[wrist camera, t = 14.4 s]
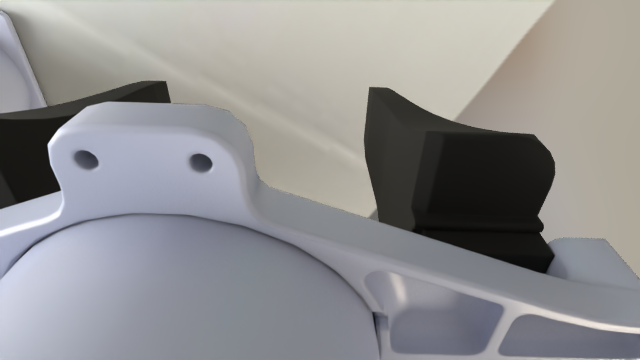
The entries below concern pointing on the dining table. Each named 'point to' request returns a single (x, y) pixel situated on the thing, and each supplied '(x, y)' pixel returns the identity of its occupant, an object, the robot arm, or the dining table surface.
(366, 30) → the dining table surface
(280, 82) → the dining table surface
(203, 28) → the dining table surface
